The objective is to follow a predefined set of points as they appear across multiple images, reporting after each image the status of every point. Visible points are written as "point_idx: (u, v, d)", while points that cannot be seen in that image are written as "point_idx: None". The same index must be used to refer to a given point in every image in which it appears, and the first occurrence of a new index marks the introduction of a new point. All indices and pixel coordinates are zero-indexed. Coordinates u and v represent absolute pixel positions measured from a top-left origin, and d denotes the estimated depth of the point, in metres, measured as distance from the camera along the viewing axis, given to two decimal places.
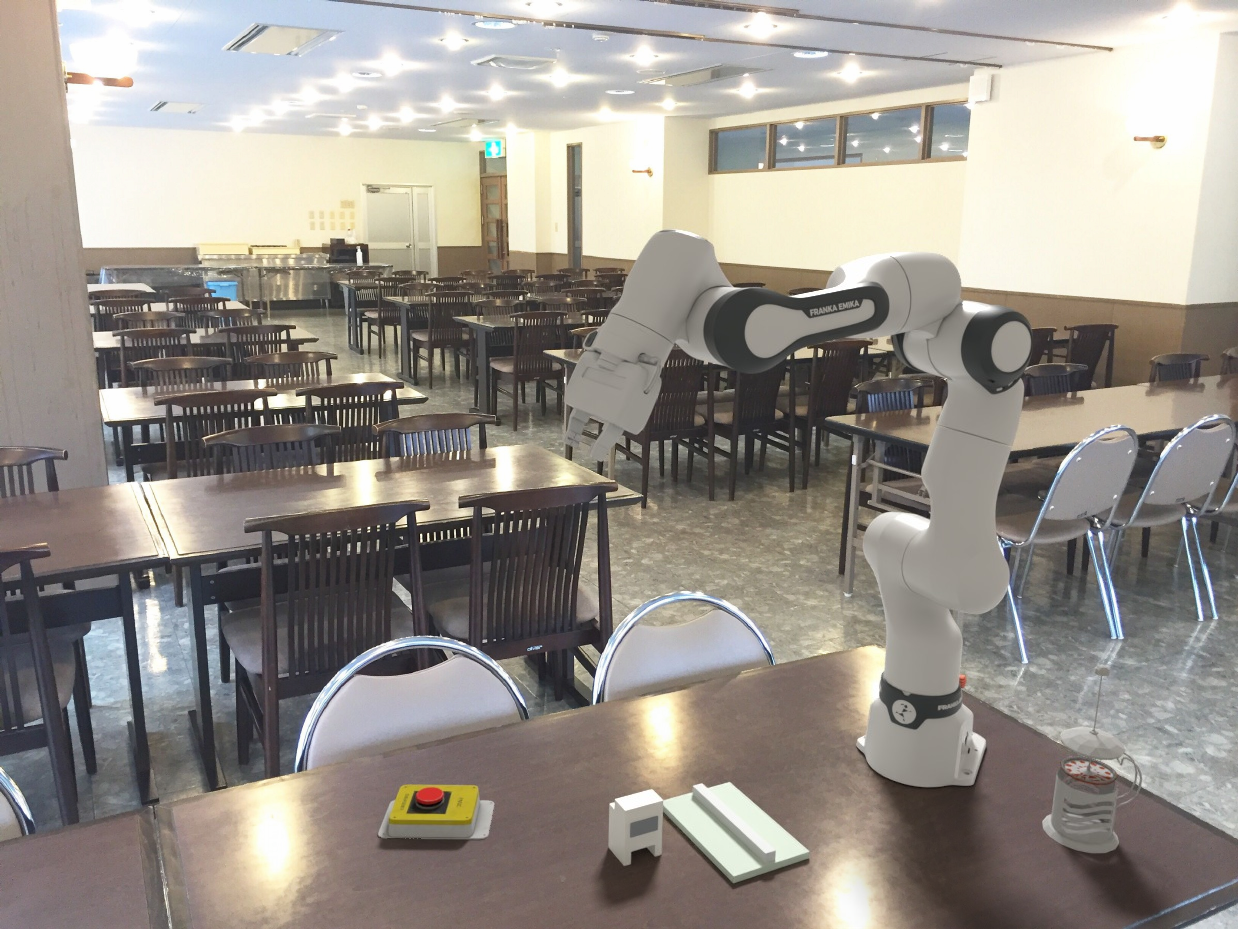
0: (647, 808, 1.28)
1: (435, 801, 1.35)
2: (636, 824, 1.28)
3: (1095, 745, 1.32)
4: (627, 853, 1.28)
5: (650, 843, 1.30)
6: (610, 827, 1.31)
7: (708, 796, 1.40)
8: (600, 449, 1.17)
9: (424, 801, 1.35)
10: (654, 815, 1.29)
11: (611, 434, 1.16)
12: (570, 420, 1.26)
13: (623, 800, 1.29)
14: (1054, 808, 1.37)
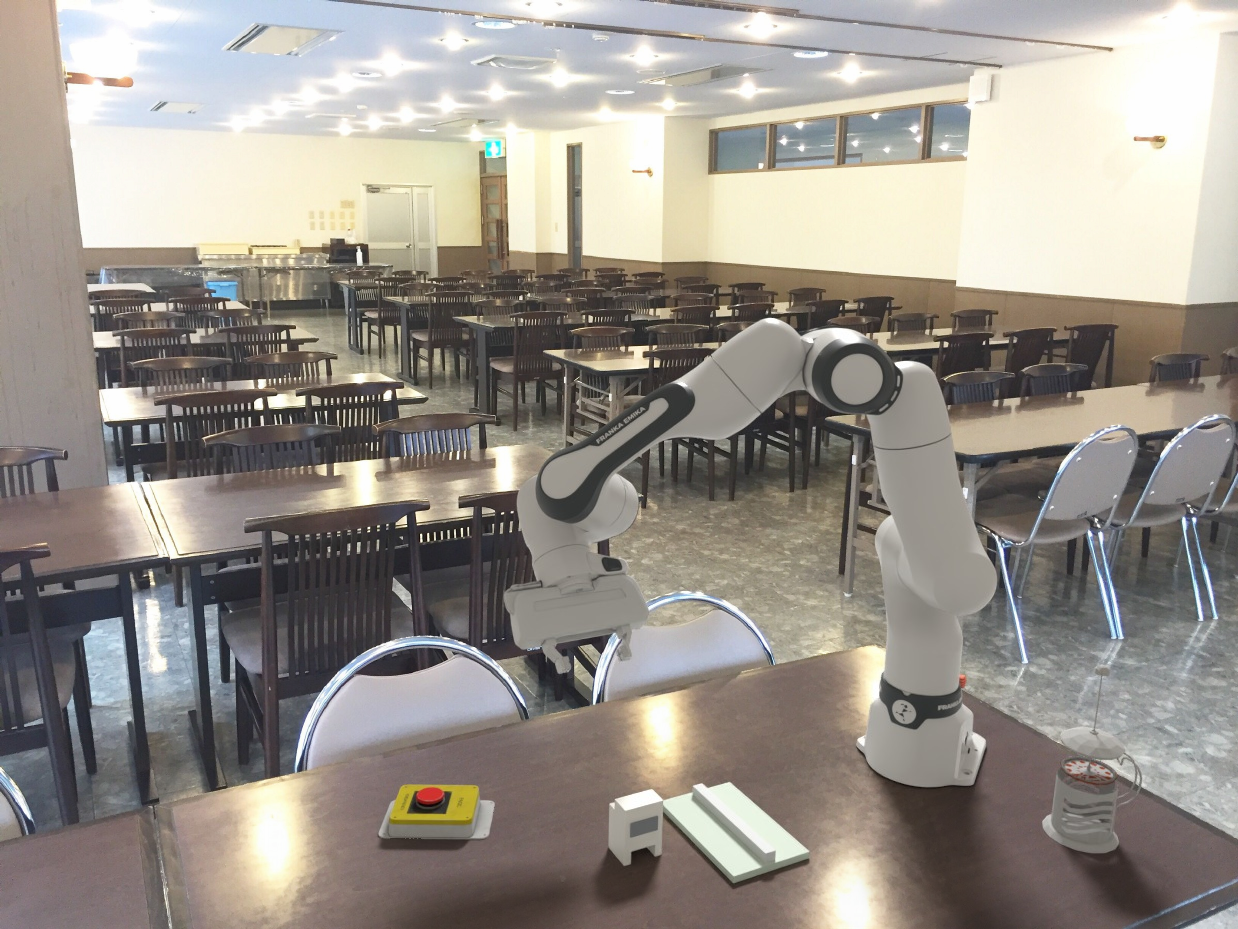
0: (647, 808, 1.28)
1: (435, 801, 1.36)
2: (636, 824, 1.28)
3: (1095, 745, 1.32)
4: (627, 853, 1.28)
5: (650, 843, 1.30)
6: (610, 827, 1.31)
7: (708, 796, 1.40)
8: (557, 663, 1.36)
9: (424, 801, 1.35)
10: (654, 815, 1.29)
11: (545, 650, 1.36)
12: (622, 642, 1.42)
13: (623, 800, 1.29)
14: (1054, 808, 1.37)
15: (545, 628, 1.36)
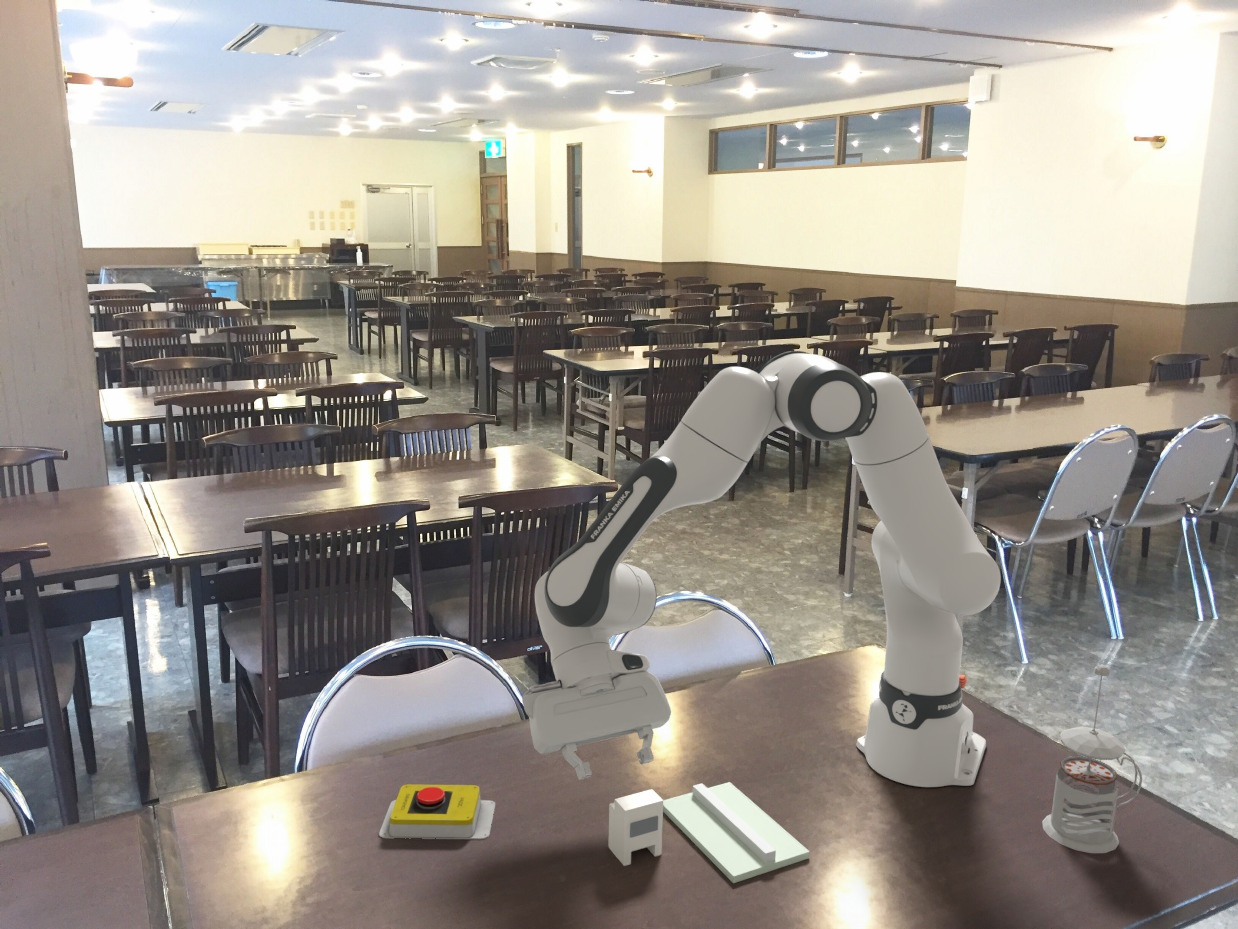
0: (647, 808, 1.28)
1: (436, 801, 1.36)
2: (636, 824, 1.28)
3: (1095, 745, 1.32)
4: (627, 853, 1.28)
5: (650, 843, 1.30)
6: (610, 827, 1.31)
7: (708, 796, 1.40)
8: (577, 769, 1.32)
9: (425, 801, 1.35)
10: (654, 815, 1.29)
11: (565, 755, 1.33)
12: (643, 742, 1.39)
13: (623, 800, 1.29)
14: (1054, 808, 1.37)
15: (565, 733, 1.33)
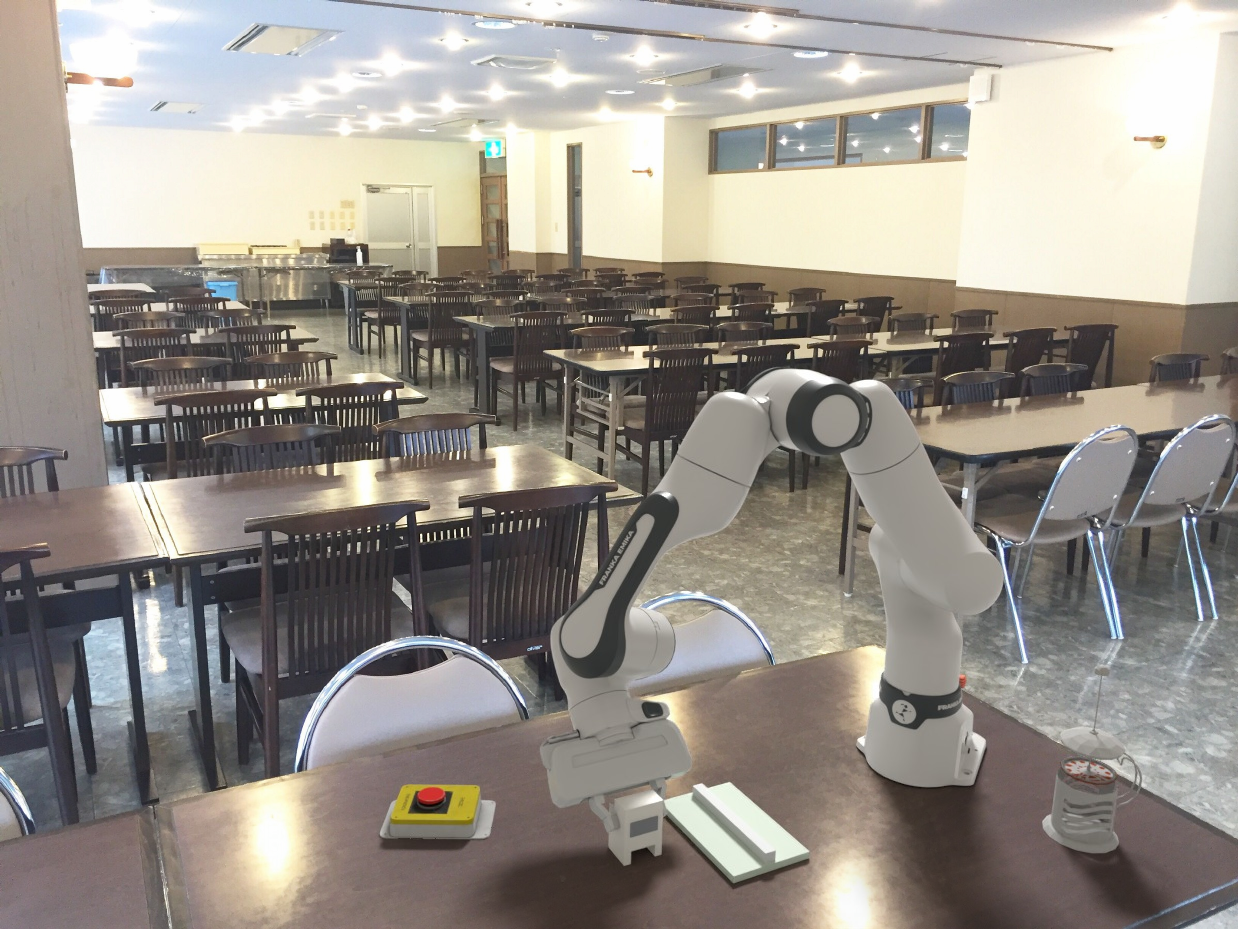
0: (647, 808, 1.28)
1: (436, 801, 1.36)
2: (636, 824, 1.28)
3: (1095, 745, 1.32)
4: (627, 853, 1.28)
5: (650, 843, 1.30)
6: None
7: (708, 796, 1.40)
8: (605, 822, 1.29)
9: (425, 801, 1.35)
10: (654, 815, 1.29)
11: (593, 807, 1.29)
12: None
13: (623, 800, 1.29)
14: (1054, 808, 1.37)
15: (584, 786, 1.28)
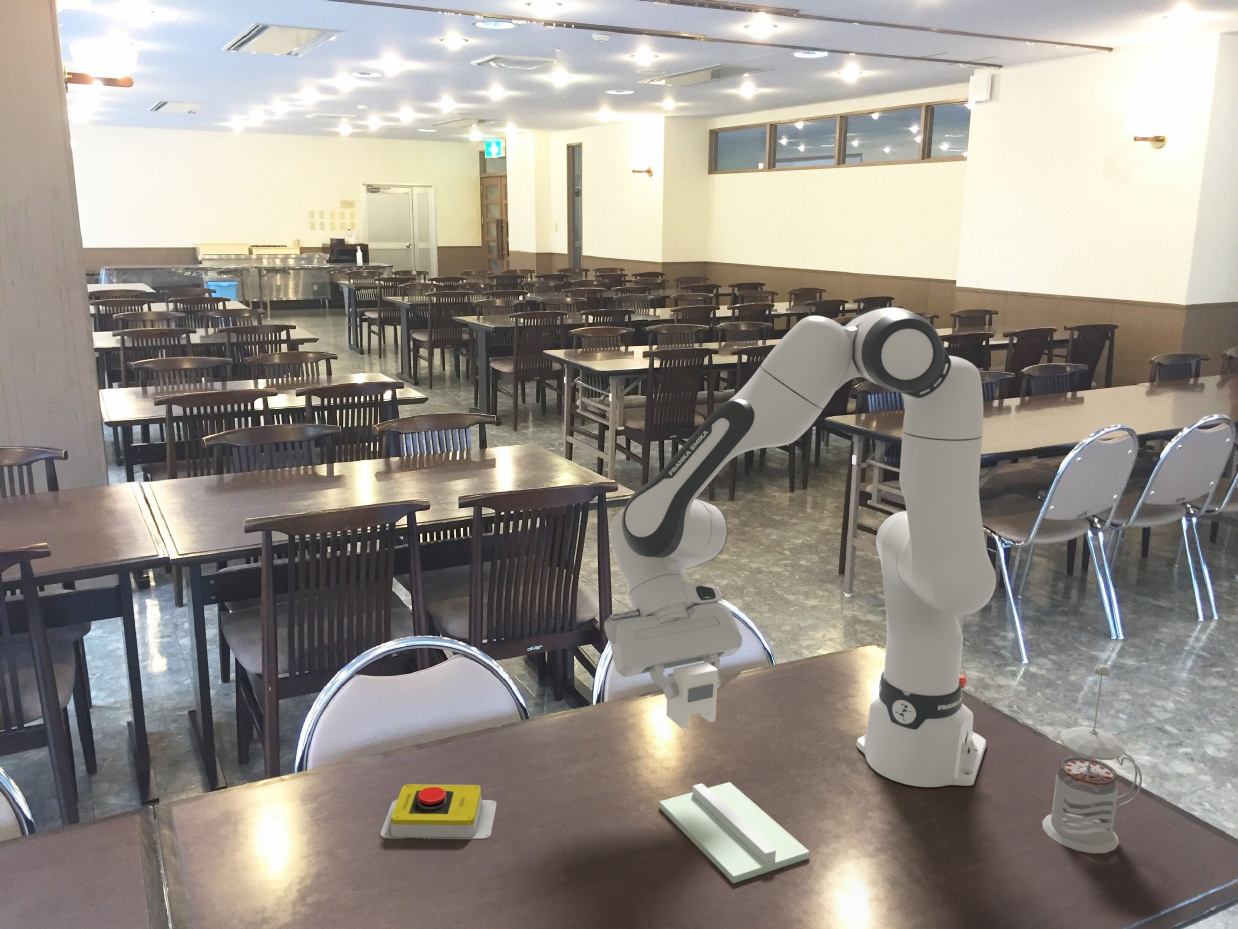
0: (703, 676, 1.40)
1: (437, 801, 1.36)
2: (694, 690, 1.40)
3: (1095, 745, 1.32)
4: (685, 717, 1.40)
5: (705, 709, 1.42)
6: None
7: (708, 796, 1.40)
8: (665, 689, 1.41)
9: (426, 801, 1.35)
10: (710, 683, 1.41)
11: (653, 676, 1.41)
12: None
13: (681, 669, 1.41)
14: (1054, 808, 1.37)
15: (646, 656, 1.40)
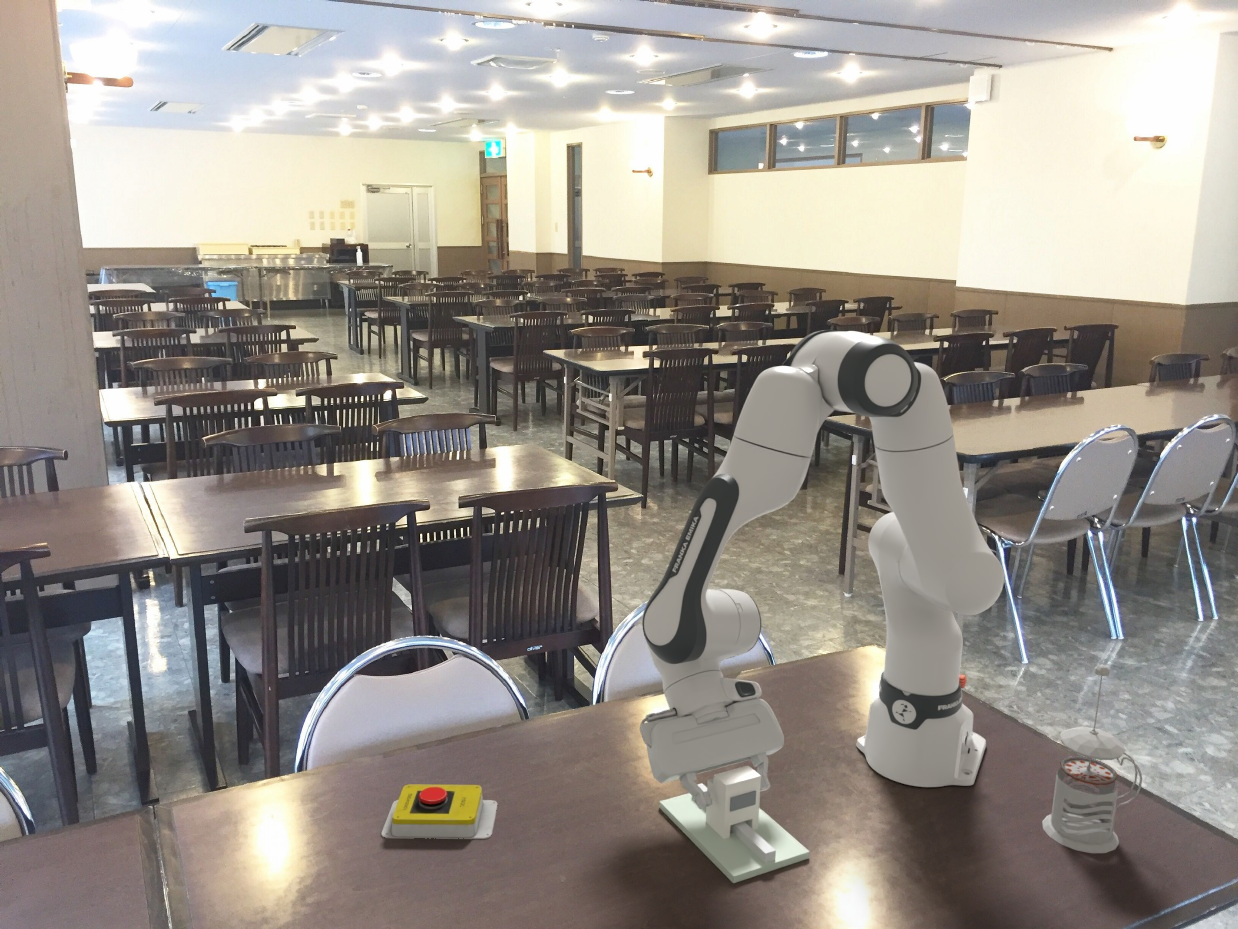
0: (746, 783, 1.33)
1: (438, 801, 1.36)
2: (736, 798, 1.32)
3: (1095, 745, 1.32)
4: (727, 827, 1.33)
5: (748, 817, 1.34)
6: None
7: None
8: (697, 798, 1.33)
9: (427, 801, 1.35)
10: (752, 790, 1.33)
11: (685, 784, 1.33)
12: (758, 770, 1.39)
13: (722, 775, 1.33)
14: (1054, 808, 1.37)
15: (685, 762, 1.33)
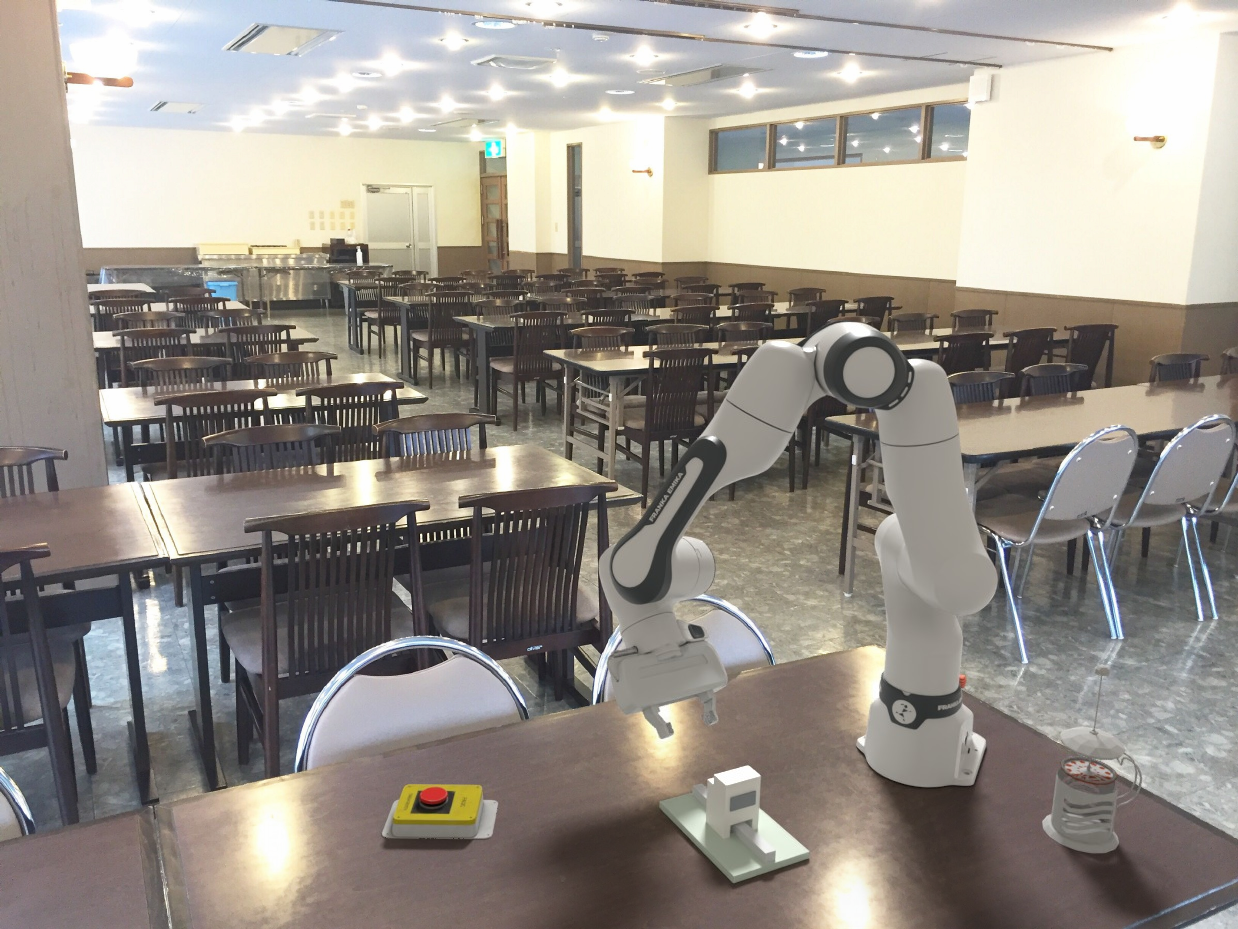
0: (746, 783, 1.33)
1: (439, 801, 1.36)
2: (736, 798, 1.32)
3: (1095, 745, 1.32)
4: (727, 827, 1.33)
5: (748, 817, 1.34)
6: (708, 801, 1.35)
7: None
8: (659, 729, 1.41)
9: (428, 801, 1.35)
10: (752, 790, 1.33)
11: (648, 716, 1.41)
12: (704, 706, 1.49)
13: (722, 775, 1.33)
14: (1054, 808, 1.37)
15: (650, 695, 1.41)
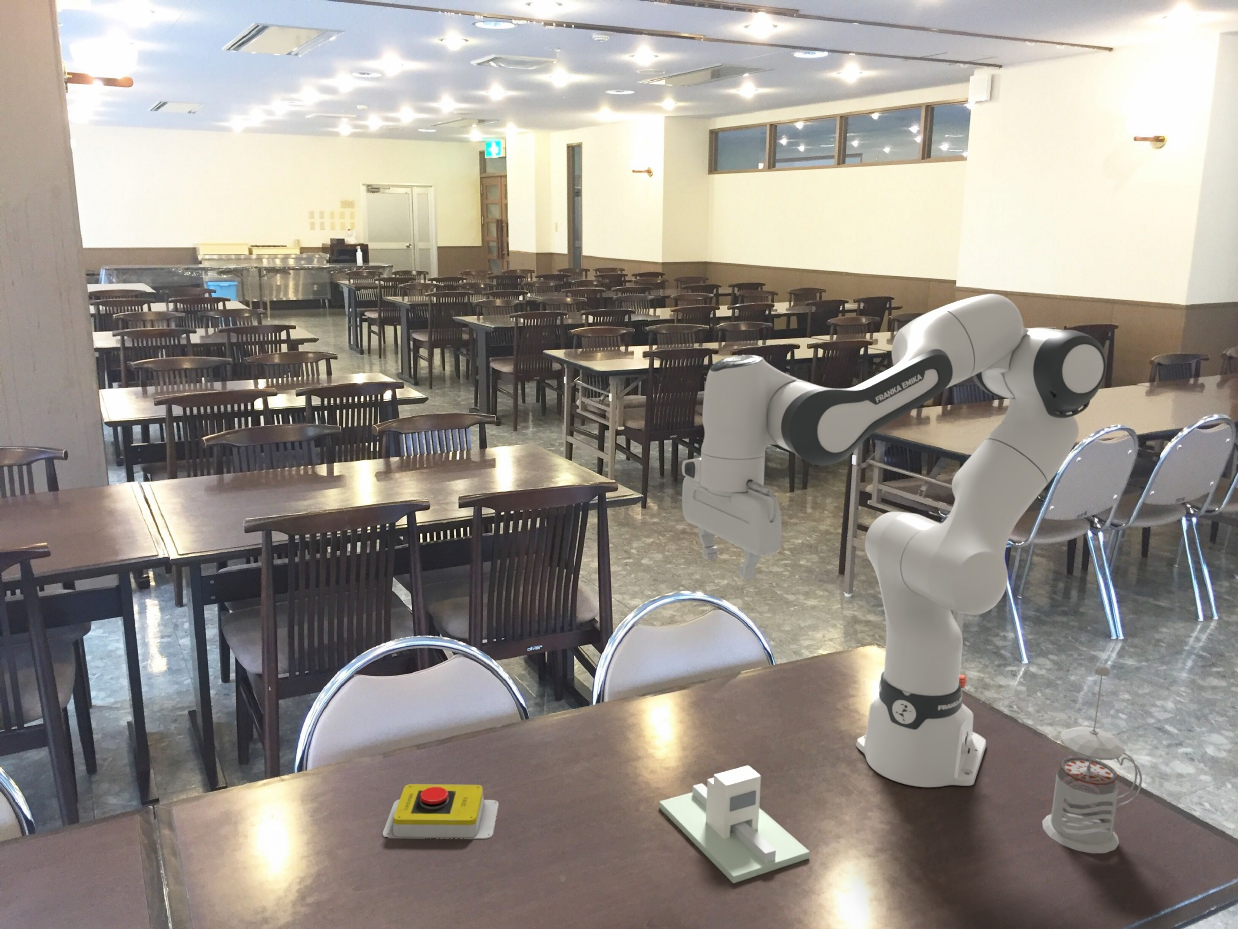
0: (746, 783, 1.33)
1: (439, 801, 1.36)
2: (736, 798, 1.32)
3: (1095, 745, 1.32)
4: (727, 827, 1.33)
5: (748, 817, 1.34)
6: (708, 801, 1.35)
7: None
8: (749, 570, 1.35)
9: (428, 801, 1.35)
10: (752, 790, 1.33)
11: (754, 557, 1.34)
12: (701, 538, 1.44)
13: (722, 775, 1.33)
14: (1054, 808, 1.37)
15: None
